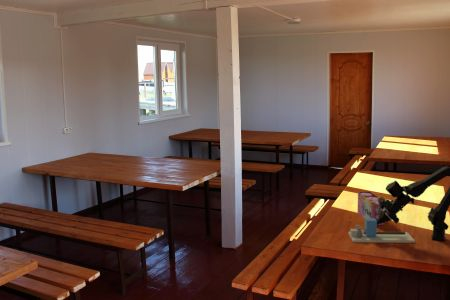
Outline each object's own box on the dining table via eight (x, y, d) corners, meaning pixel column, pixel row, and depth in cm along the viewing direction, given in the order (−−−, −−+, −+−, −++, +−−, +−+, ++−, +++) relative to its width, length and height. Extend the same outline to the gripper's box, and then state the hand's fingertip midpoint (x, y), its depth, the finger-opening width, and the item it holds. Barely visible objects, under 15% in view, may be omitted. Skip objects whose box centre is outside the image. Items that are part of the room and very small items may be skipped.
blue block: (374, 233, 243) (374, 218, 241) (376, 236, 239) (376, 220, 237) (364, 233, 243) (365, 218, 242) (366, 236, 239) (367, 220, 237)
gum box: (385, 225, 260) (386, 202, 257) (371, 226, 259) (372, 202, 257) (369, 212, 283) (370, 191, 281) (356, 213, 283) (357, 191, 280)
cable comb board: (406, 234, 246) (407, 223, 245) (414, 242, 234) (415, 230, 233) (348, 233, 248) (348, 222, 246) (353, 242, 236) (353, 230, 235)
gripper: (383, 187, 245) (361, 207, 248) (393, 197, 227) (369, 218, 230) (397, 202, 246) (375, 222, 249) (409, 213, 228) (385, 234, 231)
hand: (376, 223), depth 240 cm, fingers closed, pressing on blue block
